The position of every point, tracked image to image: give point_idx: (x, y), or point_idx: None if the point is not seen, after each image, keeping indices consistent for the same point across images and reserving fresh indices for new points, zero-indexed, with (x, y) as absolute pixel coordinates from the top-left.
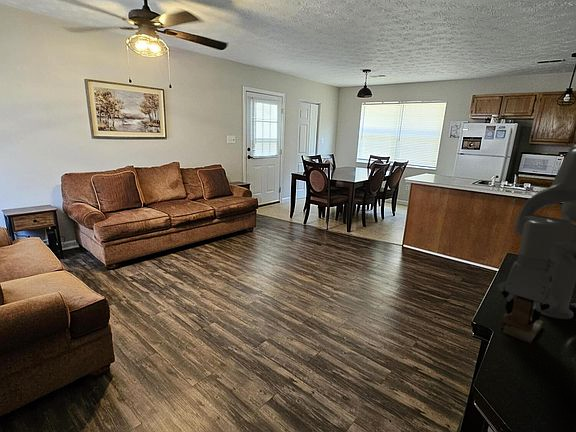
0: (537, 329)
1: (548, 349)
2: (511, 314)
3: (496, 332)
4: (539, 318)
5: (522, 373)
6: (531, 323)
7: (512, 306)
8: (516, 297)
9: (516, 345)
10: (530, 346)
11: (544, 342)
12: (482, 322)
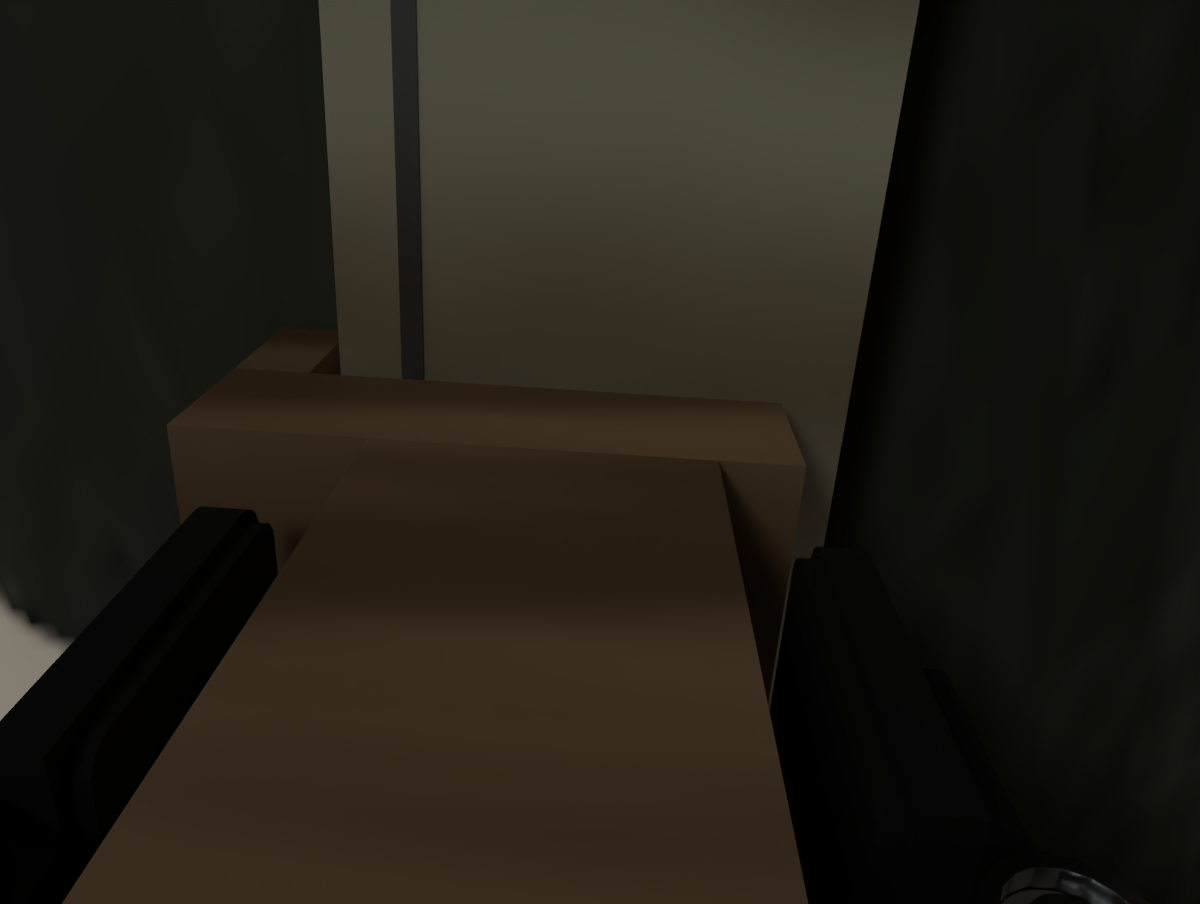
0: (859, 322)
1: (1008, 650)
2: (307, 494)
3: None
4: (942, 676)
5: None
6: (761, 628)
7: (203, 685)
8: None
9: None
10: None
11: (961, 476)
12: (46, 559)
